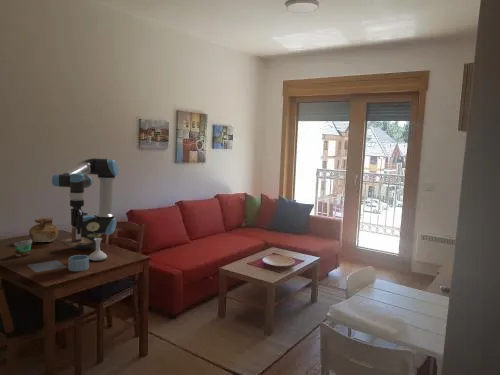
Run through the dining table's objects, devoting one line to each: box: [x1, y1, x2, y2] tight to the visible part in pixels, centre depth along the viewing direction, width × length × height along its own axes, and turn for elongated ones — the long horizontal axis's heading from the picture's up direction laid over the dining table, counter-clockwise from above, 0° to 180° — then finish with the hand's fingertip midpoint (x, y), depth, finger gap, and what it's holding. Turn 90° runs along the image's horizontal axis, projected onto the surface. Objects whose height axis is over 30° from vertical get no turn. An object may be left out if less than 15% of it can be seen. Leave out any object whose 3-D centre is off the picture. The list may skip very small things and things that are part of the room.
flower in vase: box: [86, 222, 108, 262], centre depth 244 cm, size 13×11×25 cm
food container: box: [13, 237, 33, 258], centre depth 245 cm, size 12×6×10 cm, turn 168°
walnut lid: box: [59, 226, 93, 248], centre depth 223 cm, size 14×14×9 cm
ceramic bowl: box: [67, 254, 90, 272], centre depth 225 cm, size 11×11×7 cm
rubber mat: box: [26, 259, 67, 273], centre depth 226 cm, size 17×17×1 cm
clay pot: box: [28, 217, 59, 243], centre depth 279 cm, size 19×19×20 cm
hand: (76, 238), depth 223 cm, fingers closed on walnut lid, 4 cm apart
